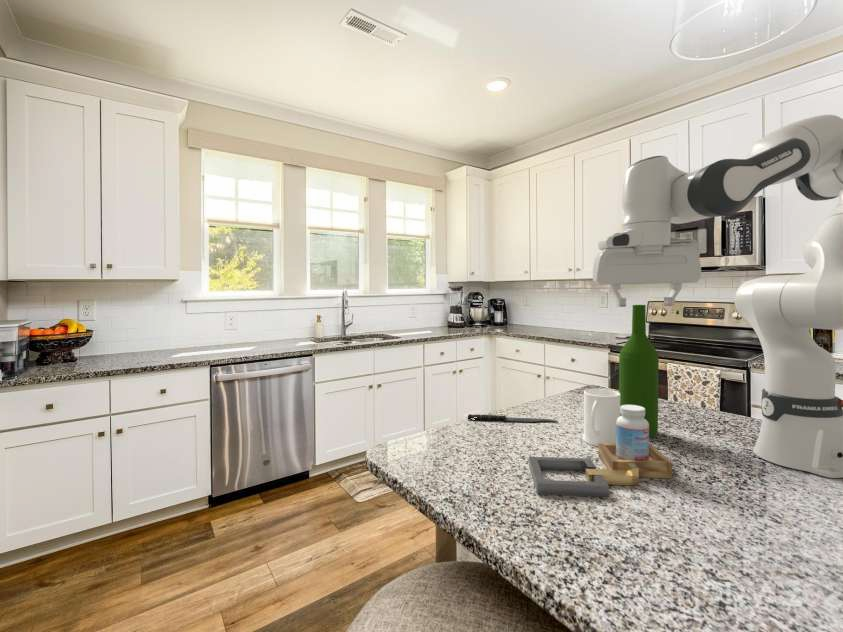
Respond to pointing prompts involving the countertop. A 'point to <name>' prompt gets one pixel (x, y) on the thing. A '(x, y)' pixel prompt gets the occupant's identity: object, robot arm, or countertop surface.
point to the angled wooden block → (615, 475)
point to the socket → (566, 487)
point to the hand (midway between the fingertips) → (645, 306)
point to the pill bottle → (632, 434)
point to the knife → (505, 418)
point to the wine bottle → (640, 371)
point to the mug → (600, 416)
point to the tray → (637, 462)
